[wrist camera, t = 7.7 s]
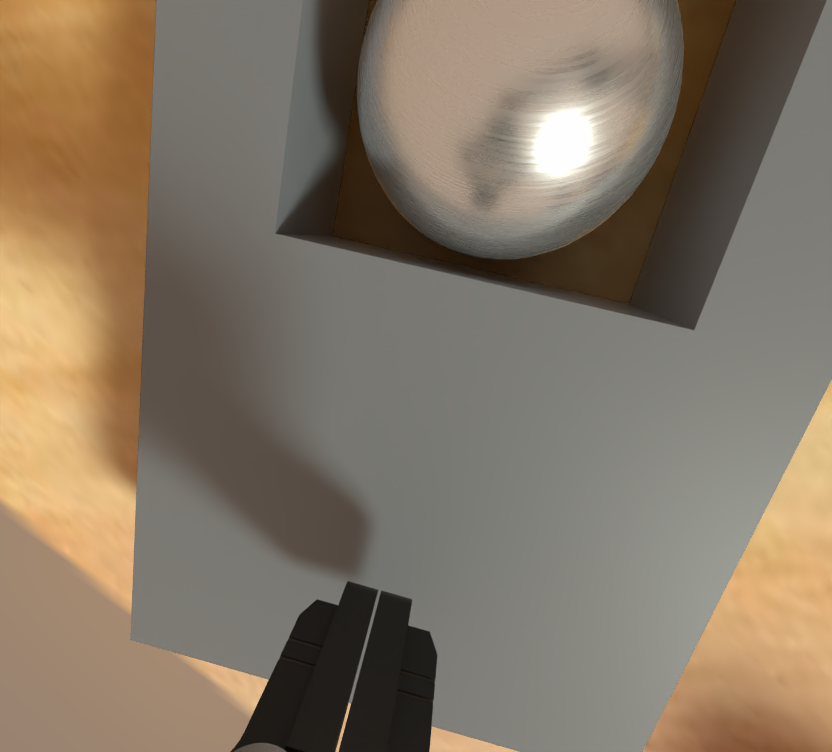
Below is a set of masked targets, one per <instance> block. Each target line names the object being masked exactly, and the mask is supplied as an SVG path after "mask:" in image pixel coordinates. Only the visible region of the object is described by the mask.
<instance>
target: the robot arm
mask: <svg viewBox="0 0 832 752" xmlns="http://www.w3.org/2000/svg"><path fill="white" fill-rule="evenodd" d="M377 593H378V589H374V588H371V587H367V586H364V585H360V584H357V583H353V582H350V581H347V583H346V586H345V588H344V591H343V594H342V596H341V599H340V602H339V605H335V604H332V603H328V602H325V601H321V600H318V599H317V600H316V601H314V602H313V603H312V604H311V605H310V606H309V607H308V608H306V609H305V610H304V611H303V612H302V613H301V614H300V615H299V617H298V619H297V621H296V623H295V625H294V627H293V629H292V632H291V634H290V636H289V639H288V641H287V642H286V644H285V646H284V649H283V651H282V653H281V655H280V658H279V659H278V661H277V664H276V666H275V668H274V670H273V672H272V674H271V676H270V679H269V681H268V683H267V685H266V687H265V689H264V691H263V694H262V696H261V698H260V700H259V702H258V704H257V706H256V709H255V711H254V713H253V715H252V717H251V719H250V721H249V724H248V726H247V728H246V730H245V732H244V734H243V736H242V737H241V739H240V741H239V742H238V743H237V745H236V746H235V748H234V749H233V750H232V751H231V752H335V751H336V747H337V743H338V740H339V736H340V732H341V729H342V725H343V721H344V717H345V714H346V710H347V706H348V703H349V699H350V695H351V692H352V688H353V684H354V681H355V677H356V673H357V669H358V666H359V662H360V658H361V654H362V651H363V647H364V643H365V639H366V636H367V632H368V628H369V624H370V620H371V616H372V613H373V609H374V605H375V601H376V597H377ZM411 605H412V599H410V598H406V597H403V596H399V595H396V594H392V593H389V592H385V591H382V590H381V593H380V597H379V601H378V605H377V609H376V612H375V616H374V620H373V624H372V628H371V631H370V635H369V639H368V643H367V646H366V650H365V654H364V658H363V662H362V665H361V669H360V673H359V677H358V681H357V684H356V688H355V692H354V696H353V700H352V703H351V707H350V711H349V715H348V718H347V722H346V726H345V730H344V734H343V737H342V741H341V745H340V749H339V752H429V749H430V737H431V725H432V714H433V700H434V690H435V678H436V667H437V652H436V649H435V646H434V643H433V640H432V637H431V634H430V632H429V631H426V630H422V629H419V628H416V627H412V626H409V625H408V623H409V617H410V611H411Z"/></svg>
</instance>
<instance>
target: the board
mask: <svg viewBox="0 0 832 752" xmlns="http://www.w3.org/2000/svg"><path fill="white" fill-rule="evenodd" d="M368 4H369V0H156V23H155V48H154V73H153V97H152V122H151V147H150V171H149V196H148V221H147V245H146V270H145V295H144V320H143V344H142V369H141V394H140V418H139V443H138V468H137V492H136V517H135V542H134V566H133V591H132V616H131V640H133V641H136V642H140V643H143V644H147V645H150V646H154V647H157V648H161V649H164V650H168V651H171V652H175V653H178V654H182V655H185V656H189V657H192V658H196V659H199V660H203V661H206V662H209V663H213V664H216V665H220V666H223V667H227V668H230V669H234V670H237V671H241V672H244V673H248V674H251V675H255V676H258V677H262V678H265V679H270V676H271V674H272V672H273V670H274V668H275V666H276V664H277V661H278V659H279V658H280V655H281V653H282V651H283V649H284V646H285V644H286V642H287V641H288V639H289V636H290V634H291V632H292V629H293V627H294V625H295V623H296V621H297V619H298V617H299V615H300V614H301V613H302V612H303V611H304V610H305V609H306V608H308V607H309V606H310V605H311V604H312V603H313V602H314V601H316V600H317V599H318V600H321V601H325V602H328V603H332V604H335V605H339V602H340V599H341V596H342V594H343V591H344V588H345V586H346V583H347V581H350V582H353V583H357V584H360V585H364V586H367V587H371V588H374V589H378V593H377V597H376V601H375V605H374V609H373V613H372V616H371V620H370V624H369V628H368V632H367V636H366V639H365V643H364V647H363V651H362V654H361V658H360V662H359V666H358V669H357V673H356V677H355V681H354V684H353V688H352V692H351V695H350V699H349V703H352V700H353V696H354V692H355V688H356V684H357V681H358V677H359V673H360V669H361V665H362V662H363V658H364V654H365V650H366V646H367V643H368V639H369V635H370V631H371V628H372V624H373V620H374V616H375V612H376V609H377V605H378V601H379V597H380V593H381V590H382V591H385V592H389V593H392V594H396V595H399V596H403V597H406V598H410V599H412V605H411V611H410V617H409V623H408V625H409V626H412V627H416V628H419V629H422V630H426V631H429V632H430V634H431V637H432V640H433V643H434V646H435V649H436V652H437V667H436V678H435V690H434V700H433V714H432V725H431V726H433V727H436V728H440V729H443V730H447V731H450V732H454V733H457V734H461V735H464V736H467V737H471V738H474V739H478V740H481V741H485V742H488V743H492V744H495V745H499V746H502V747H506V748H509V749H513V750H516V751H520V752H643V750H644V748H645V746H646V744H647V742H648V740H649V738H650V736H651V734H652V732H653V730H654V728H655V726H656V724H657V722H658V720H659V718H660V716H661V714H662V712H663V710H664V708H665V706H666V704H667V702H668V700H669V698H670V696H671V694H672V693H673V691H674V689H675V687H676V685H677V683H678V681H679V679H680V677H681V675H682V673H683V671H684V669H685V667H686V665H687V663H688V661H689V659H690V657H691V655H692V653H693V651H694V649H695V647H696V645H697V643H698V641H699V639H700V637H701V635H702V633H703V631H704V630H705V628H706V626H707V624H708V622H709V620H710V618H711V616H712V614H713V612H714V610H715V608H716V606H717V604H718V602H719V600H720V598H721V596H722V594H723V592H724V590H725V588H726V586H727V584H728V582H729V580H730V578H731V576H732V574H733V572H734V570H735V568H736V566H737V565H738V563H739V561H740V559H741V557H742V555H743V553H744V551H745V549H746V547H747V545H748V543H749V541H750V539H751V537H752V535H753V533H754V531H755V529H756V527H757V525H758V523H759V521H760V519H761V517H762V515H763V513H764V511H765V509H766V507H767V505H768V503H769V502H770V500H771V498H772V496H773V494H774V492H775V490H776V488H777V486H778V484H779V482H780V480H781V478H782V476H783V474H784V472H785V470H786V468H787V466H788V464H789V462H790V460H791V458H792V456H793V454H794V452H795V450H796V448H797V446H798V444H799V442H800V440H801V438H802V437H803V435H804V433H805V431H806V429H807V427H808V425H809V423H810V421H811V419H812V417H813V415H814V413H815V411H816V409H817V407H818V405H819V403H820V401H821V399H822V397H823V395H824V393H825V391H826V389H827V387H828V385H829V383H830V381H831V379H832V0H736V3H735V6H734V9H733V12H732V14H731V17H730V20H729V23H728V26H727V29H726V31H725V34H724V37H723V40H722V43H721V46H720V48H719V51H718V54H717V57H716V60H715V63H714V65H713V68H712V71H711V74H710V77H709V80H708V82H707V85H706V88H705V91H704V94H703V97H702V99H701V102H700V105H699V108H698V111H697V114H696V116H695V119H694V122H693V125H692V128H691V131H690V133H689V136H688V139H687V142H686V145H685V148H684V150H683V153H682V156H681V159H680V162H679V165H678V167H677V170H676V173H675V176H674V179H673V182H672V184H671V187H670V190H669V193H668V196H667V199H666V201H665V204H664V207H663V210H662V213H661V216H660V218H659V221H658V224H657V227H656V230H655V233H654V235H653V238H652V241H651V244H650V247H649V250H648V252H647V255H646V258H645V261H644V264H643V267H642V269H641V272H640V275H639V278H638V281H637V284H636V286H635V289H634V292H633V295H632V298H631V301H630V303H629V304H627V303H623V302H618V301H614V300H609V299H605V298H601V297H596V296H592V295H588V294H583V293H579V292H575V291H570V290H566V289H561V288H557V287H553V286H548V285H544V284H540V283H535V282H531V281H527V280H522V279H518V278H514V277H509V276H505V275H500V274H496V273H492V272H487V271H483V270H479V269H474V268H470V267H466V266H461V265H457V264H452V263H448V262H444V261H439V260H435V259H431V258H426V257H422V256H418V255H413V254H409V253H405V252H400V251H396V250H391V249H387V248H383V247H378V246H374V245H370V244H365V243H361V242H357V241H352V240H348V239H343V238H339V237H335V236H333V229H334V223H335V216H336V210H337V203H338V197H339V191H340V184H341V178H342V171H343V165H344V158H345V152H346V145H347V139H348V133H349V126H350V120H351V113H352V107H353V100H354V94H355V87H356V81H357V74H358V65H359V59H360V53H361V47H362V42H363V36H364V29H365V23H366V16H367V10H368Z"/></svg>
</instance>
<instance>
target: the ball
mask: <svg viewBox="0 0 832 752" xmlns="http://www.w3.org/2000/svg"><path fill="white" fill-rule="evenodd" d="M683 57H684V40H683V29H682V21H681V14H680V9H679V5H678V1H677V0H377V2H376V4H375V6H374V8H373V10H372V13H371V16H370V19H369V22H368V25H367V28H366V32H365V35H364V39H363V43H362V47H361V53H360V59H359V65H358V77H357V107H358V116H359V124H360V132H361V136H362V140H363V143H364V147H365V150H366V154H367V157H368V160H369V163H370V165H371V168H372V170H373V172H374V175H375V177H376V179H377V180H378V182H379V184H380V186H381V187H382V189H383V191H384V192H385V194H386V196H387V197H388V199H389V201H390V202H391V203H392V204H393V206H394V207H395V208H396V209H397V210H398V212H399V213H400V214H401V215H402V216H403V217H404V218H405V219H406V220H407V221H408V222H409V223H410V224H411V225H413V226H414V227H415V228H416V229H417V230H418V231H420V232H421V233H422V234H424V235H425V236H427V237H428V238H429V239H431V240H432V241H434V242H436V243H438V244H440V245H442V246H444V247H445V248H448V249H451V250H453V251H456V252H458V253H461V254H465V255H469V256H473V257H477V258H484V259H492V260H513V259H521V258H529V257H532V256H536V255H540V254H544V253H548V252H552V251H554V250H557V249H559V248H562V247H564V246H567V245H569V244H571V243H572V242H574V241H576V240H578V239H579V238H581V237H583V236H585V235H586V234H588V233H590V232H591V231H593V230H594V229H595V228H597V227H598V226H599V225H601V224H602V223H603V222H605V221H606V220H607V219H608V218H609V217H610V216H611V215H613V214H614V213H615V212H616V211H617V210H618V209H619V208H620V207H621V206H622V205H623V204H624V203H625V202H626V201H627V200H628V199H629V198H630V197H631V195H632V194H633V193H634V191H635V190H636V189H637V187H638V186H639V185H640V183H641V182H642V181H643V179H644V178H645V176H646V175H647V173H648V172H649V171H650V169H651V167H652V165H653V164H654V162H655V160H656V158H657V156H658V155H659V153H660V151H661V149H662V146H663V144H664V142H665V140H666V138H667V135H668V132H669V130H670V127H671V124H672V122H673V119H674V115H675V111H676V107H677V103H678V99H679V94H680V90H681V85H682V73H683Z"/></svg>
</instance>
